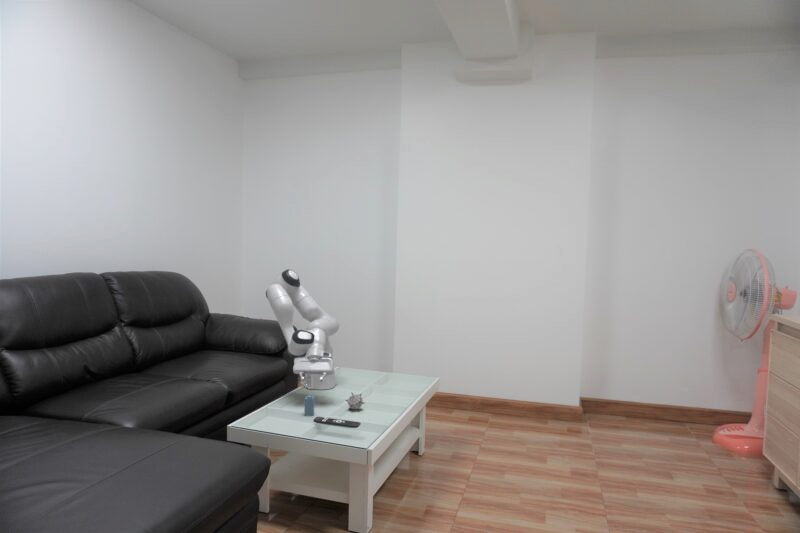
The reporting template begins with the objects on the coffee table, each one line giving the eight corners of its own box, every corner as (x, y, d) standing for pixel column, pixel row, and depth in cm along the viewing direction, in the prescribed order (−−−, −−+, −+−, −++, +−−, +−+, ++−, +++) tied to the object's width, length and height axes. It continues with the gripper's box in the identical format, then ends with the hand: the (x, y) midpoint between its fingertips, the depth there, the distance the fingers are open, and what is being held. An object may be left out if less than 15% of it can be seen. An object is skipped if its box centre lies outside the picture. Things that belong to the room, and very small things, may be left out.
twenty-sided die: (358, 416, 270) (370, 400, 271) (351, 415, 263) (364, 398, 264) (345, 405, 274) (358, 388, 275) (339, 403, 267) (351, 386, 267)
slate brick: (305, 413, 262) (306, 394, 262) (314, 413, 262) (314, 395, 262) (304, 415, 258) (304, 397, 258) (313, 415, 258) (313, 397, 258)
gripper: (294, 353, 277) (290, 377, 268) (334, 354, 277) (331, 377, 268) (295, 360, 282) (291, 383, 273) (335, 360, 282) (332, 384, 273)
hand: (312, 380), depth 270 cm, fingers open, 8 cm apart
